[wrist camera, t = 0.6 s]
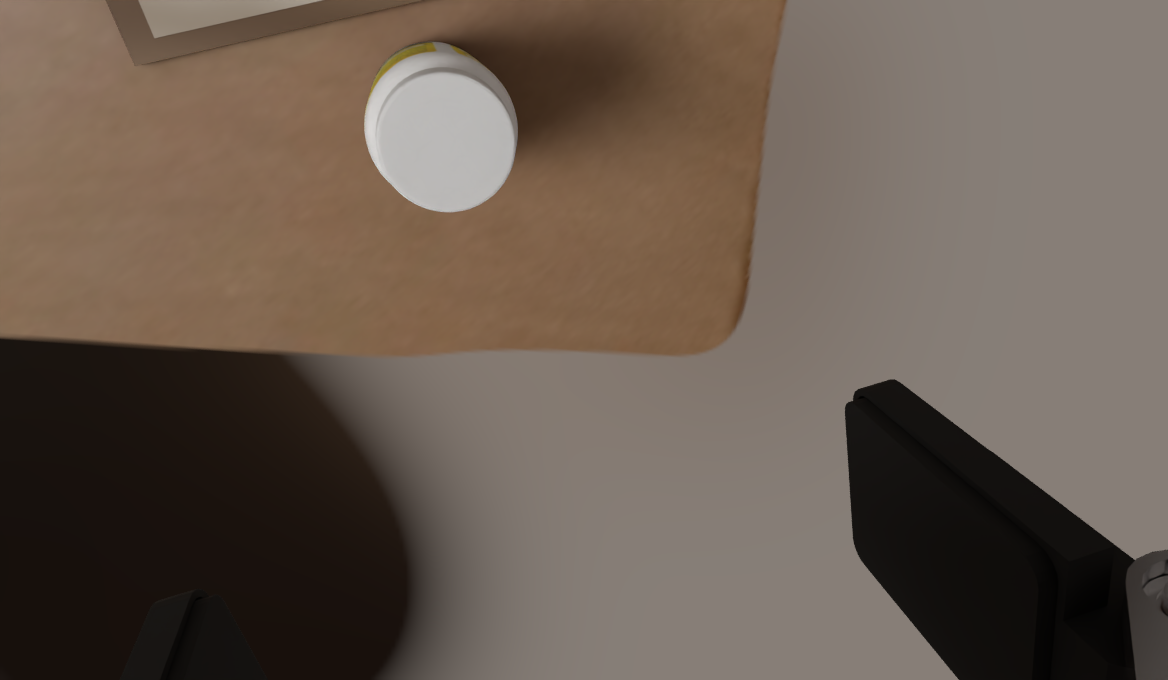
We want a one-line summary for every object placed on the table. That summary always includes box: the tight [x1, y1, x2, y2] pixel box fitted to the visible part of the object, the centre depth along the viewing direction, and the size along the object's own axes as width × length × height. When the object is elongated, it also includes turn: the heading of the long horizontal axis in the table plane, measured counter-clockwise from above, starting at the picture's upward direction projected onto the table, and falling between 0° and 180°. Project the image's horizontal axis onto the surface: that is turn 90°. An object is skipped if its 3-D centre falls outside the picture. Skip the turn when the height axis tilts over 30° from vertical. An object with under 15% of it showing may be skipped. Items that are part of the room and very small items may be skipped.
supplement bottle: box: [364, 42, 518, 212], centre depth 25 cm, size 5×5×8 cm
